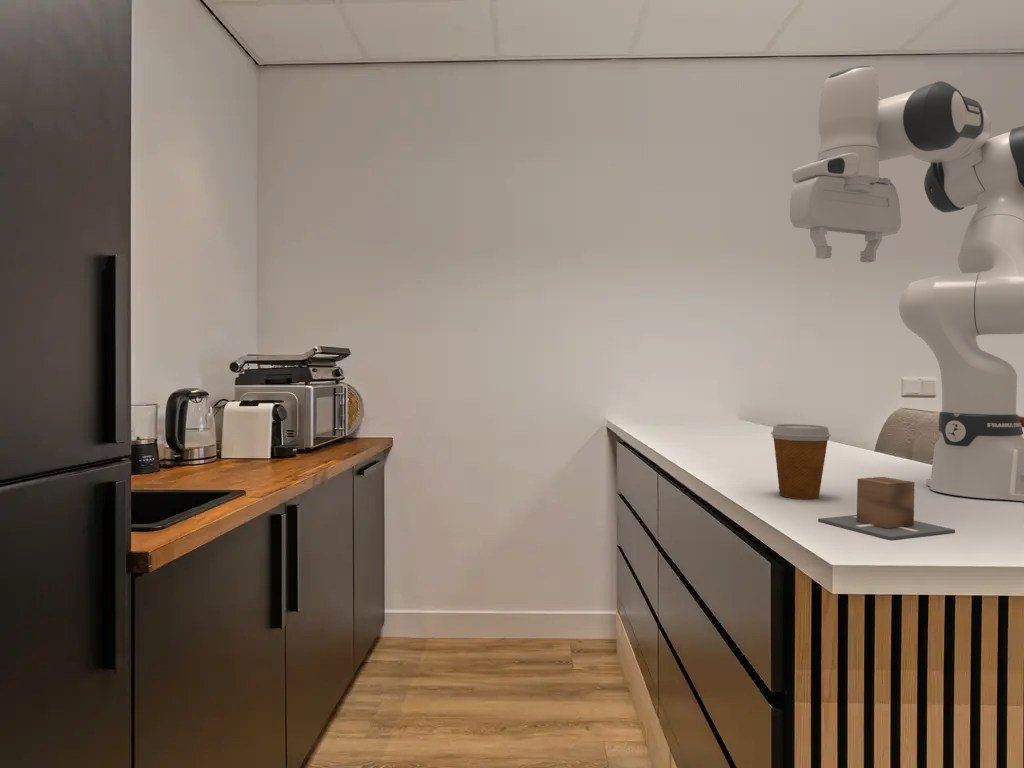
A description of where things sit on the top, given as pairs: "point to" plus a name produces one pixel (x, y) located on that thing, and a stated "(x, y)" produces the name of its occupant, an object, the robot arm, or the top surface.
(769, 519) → the top surface
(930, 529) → the pad
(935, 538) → the top surface
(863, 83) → the robot arm
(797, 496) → the disposable coffee cup
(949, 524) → the top surface
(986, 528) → the top surface
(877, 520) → the walnut block
